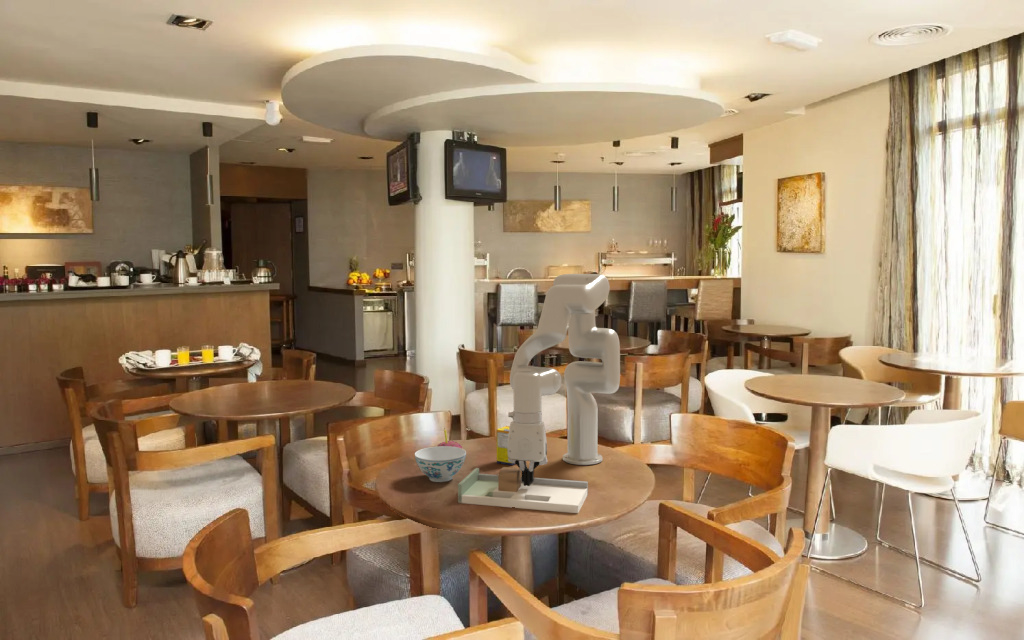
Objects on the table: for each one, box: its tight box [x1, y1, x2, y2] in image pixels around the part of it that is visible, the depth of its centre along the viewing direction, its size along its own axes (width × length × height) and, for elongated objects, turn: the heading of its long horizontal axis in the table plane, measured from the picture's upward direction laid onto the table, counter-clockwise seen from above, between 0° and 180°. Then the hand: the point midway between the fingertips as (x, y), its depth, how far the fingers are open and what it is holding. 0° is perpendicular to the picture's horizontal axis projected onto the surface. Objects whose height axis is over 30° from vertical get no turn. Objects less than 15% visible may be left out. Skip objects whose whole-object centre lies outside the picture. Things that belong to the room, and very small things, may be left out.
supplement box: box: [495, 425, 516, 466], centre depth 222 cm, size 6×6×11 cm
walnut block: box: [497, 466, 522, 492], centre depth 190 cm, size 5×5×5 cm
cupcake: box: [437, 427, 463, 449], centre depth 221 cm, size 9×8×12 cm
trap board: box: [457, 467, 589, 514], centre depth 188 cm, size 15×32×5 cm, turn 75°
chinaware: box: [414, 445, 467, 483], centre depth 206 cm, size 15×15×8 cm
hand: (527, 484), depth 189 cm, fingers closed
